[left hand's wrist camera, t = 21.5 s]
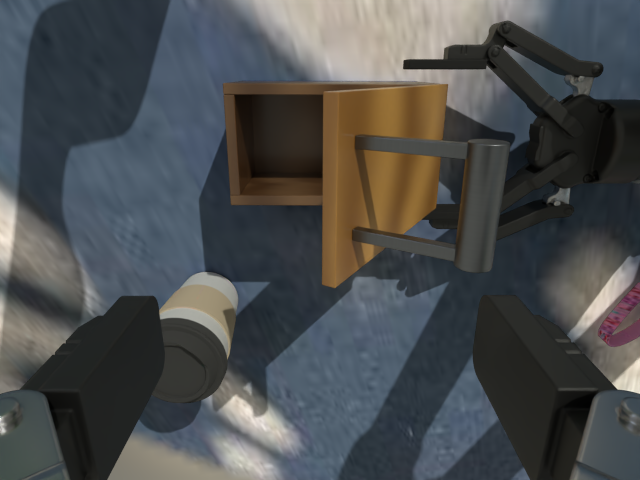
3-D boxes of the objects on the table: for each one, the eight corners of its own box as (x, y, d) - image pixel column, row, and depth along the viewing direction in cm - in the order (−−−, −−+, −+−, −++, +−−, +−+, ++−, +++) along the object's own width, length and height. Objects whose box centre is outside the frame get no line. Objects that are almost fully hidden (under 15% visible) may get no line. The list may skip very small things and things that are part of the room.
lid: (321, 285, 25) (475, 326, 21) (322, 91, 21) (508, 96, 17) (426, 206, 39) (529, 222, 35) (437, 84, 36) (553, 85, 32)
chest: (248, 178, 49) (230, 205, 40) (243, 80, 46) (222, 83, 36) (408, 179, 49) (430, 206, 40) (415, 81, 46) (441, 83, 36)
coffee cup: (213, 342, 57) (177, 432, 43) (156, 296, 54) (99, 374, 40) (262, 298, 54) (242, 377, 40) (206, 248, 52) (164, 313, 38)
